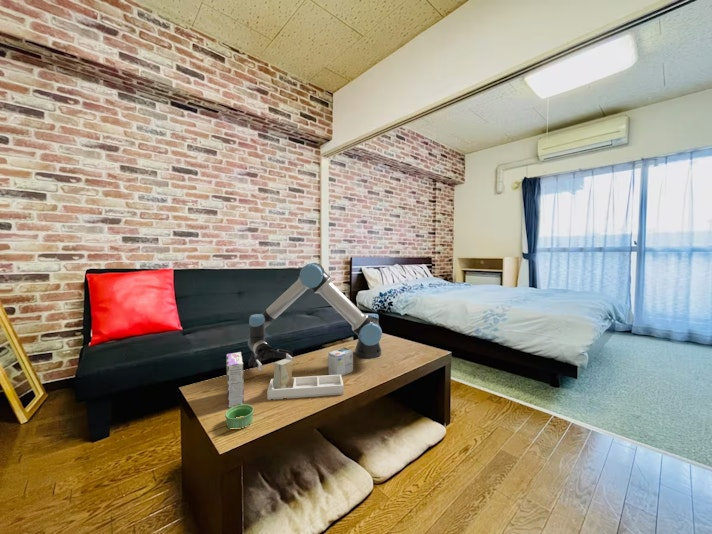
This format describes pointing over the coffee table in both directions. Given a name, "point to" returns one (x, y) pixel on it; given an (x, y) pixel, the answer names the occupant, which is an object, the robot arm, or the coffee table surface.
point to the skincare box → (283, 374)
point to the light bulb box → (340, 361)
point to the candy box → (235, 379)
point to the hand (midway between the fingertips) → (277, 364)
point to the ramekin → (237, 412)
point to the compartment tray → (308, 387)
